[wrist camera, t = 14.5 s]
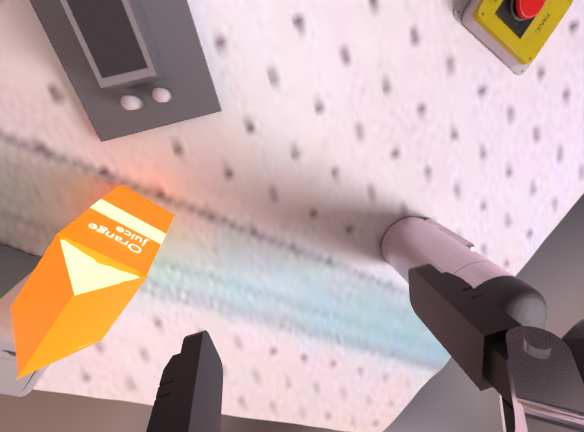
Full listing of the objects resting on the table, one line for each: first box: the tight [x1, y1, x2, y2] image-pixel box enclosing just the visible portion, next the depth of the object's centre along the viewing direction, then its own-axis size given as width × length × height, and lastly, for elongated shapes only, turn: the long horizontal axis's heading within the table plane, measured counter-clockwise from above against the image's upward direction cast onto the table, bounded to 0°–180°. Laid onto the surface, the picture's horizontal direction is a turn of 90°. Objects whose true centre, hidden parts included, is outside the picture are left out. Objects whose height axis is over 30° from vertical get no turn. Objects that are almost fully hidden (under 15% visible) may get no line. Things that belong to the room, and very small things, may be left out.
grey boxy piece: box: [60, 0, 169, 90], centre depth 27 cm, size 5×9×6 cm, turn 13°
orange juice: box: [10, 184, 175, 380], centre depth 29 cm, size 8×9×20 cm
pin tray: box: [30, 0, 222, 142], centre depth 29 cm, size 14×18×4 cm
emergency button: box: [453, 0, 573, 75], centre depth 36 cm, size 9×4×15 cm
